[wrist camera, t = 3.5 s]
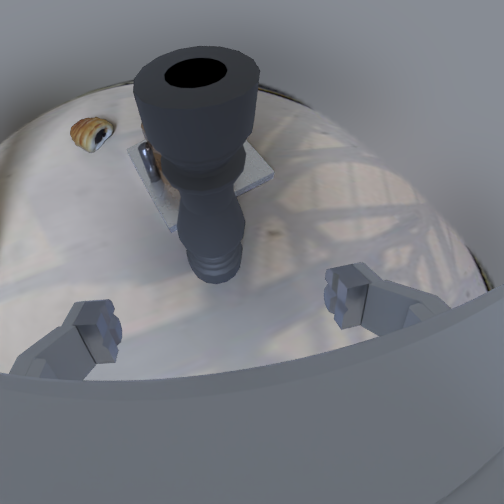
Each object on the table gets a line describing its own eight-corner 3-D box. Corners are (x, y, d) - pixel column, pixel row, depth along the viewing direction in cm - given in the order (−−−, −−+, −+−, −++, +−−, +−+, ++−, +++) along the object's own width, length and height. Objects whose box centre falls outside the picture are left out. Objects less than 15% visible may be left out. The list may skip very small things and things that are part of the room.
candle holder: (179, 260, 33) (103, 85, 9) (214, 226, 35) (201, 35, 11) (217, 294, 32) (187, 137, 8) (251, 257, 34) (293, 72, 10)
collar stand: (171, 233, 34) (152, 190, 25) (129, 155, 38) (110, 109, 29) (273, 178, 38) (285, 128, 29) (216, 114, 42) (216, 67, 33)
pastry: (65, 143, 39) (57, 130, 35) (89, 119, 41) (83, 105, 38) (93, 157, 38) (85, 142, 34) (119, 130, 40) (113, 115, 37)
